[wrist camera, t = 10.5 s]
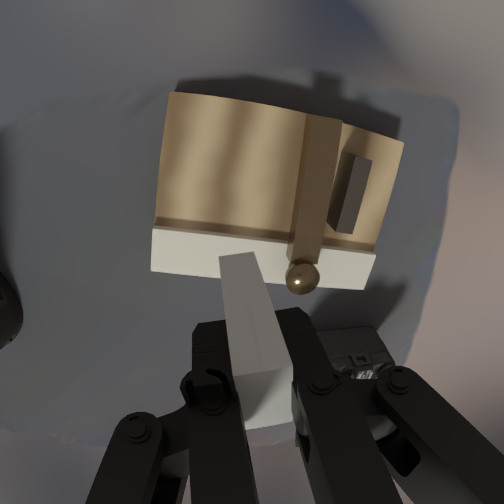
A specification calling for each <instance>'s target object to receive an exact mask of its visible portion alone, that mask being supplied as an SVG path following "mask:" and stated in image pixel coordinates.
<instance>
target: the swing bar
mask: <svg viewBox="0 0 504 504" xmlns="http://www.w3.org/2000/svg"><path fill="white" fill-rule="evenodd" d="M342 123H343V120H339V119H334V118H329V117H323V116H318V115H310V114H306V121H305V129H304V137H303V144H302V152H301V159H300V166H299V173H298V181H297V187H296V194H295V201H294V208H293V214H292V221H291V227H290V233H289V240H288V246H287V252H286V256H287V258H288V260H289V262H290V264H292V265H291V266H290V267H289V268H288V269H287V271H286V273H285V282H286V284H287V287H288V289H289V290H290V291H291V292H292V293H294V294H298V295H303V294H307V293H310V292H311V291H313V290H314V289H315V288H316V287H317V285H318V283H319V281H320V274H319V272H318V270H317V268H316V267H315V265H314V264H318V259H319V255H320V250H321V245H322V240H323V235H324V230H325V225H326V220H327V215H328V209H329V204H330V199H331V193H332V187H333V181H334V176H335V170H336V163H337V157H338V151H339V144H340V137H341V130H342Z"/></svg>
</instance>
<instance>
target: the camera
mask: <svg viewBox="0 0 504 504" xmlns="http://www.w3.org/2000/svg"><path fill="white" fill-rule="evenodd" d="M316 333H317V335H318V337H319V339H320V341H321V343H322V345H323V348H324V350H325V352H326V354H327V356H328V358H329V360H330V362H331V364H332V366H333V367H334V369H336V370H337V371H339V372H341V373H342V374H343V375H344V376H346V377H350V378H355V379H375V378H376V377H378V375H379V374H380V373H381V372H382V371H383V370H384V369H386V368H389V367H391V366H396V365H395V362H394V360H393V358H392V357H391V355H390V353H389V352H388V350H387V348H386V346H385V344H384V343H383V341H382V340H381V338H380V337H379V335H378V333H377V332H376V331H375V329H374V328H373V327H370V326H367V327H357V328H347V329H337V330H327V331H316Z"/></svg>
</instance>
